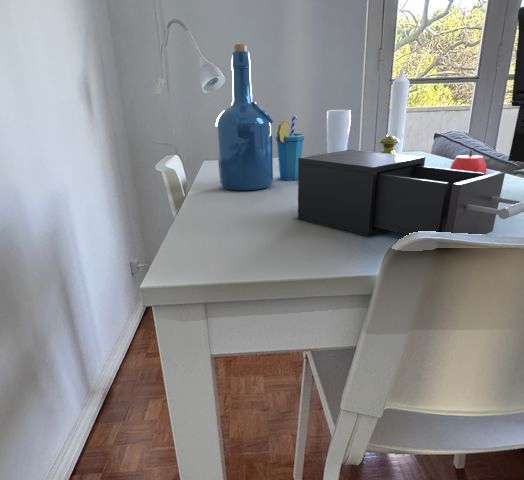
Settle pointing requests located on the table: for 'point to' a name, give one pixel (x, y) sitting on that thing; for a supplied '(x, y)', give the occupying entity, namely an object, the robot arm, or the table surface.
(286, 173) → the cup
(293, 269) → the table surface
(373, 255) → the table surface
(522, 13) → the robot arm
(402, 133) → the candle
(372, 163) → the cabinet
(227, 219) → the table surface
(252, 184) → the wine bottle
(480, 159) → the apple
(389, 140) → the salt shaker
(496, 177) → the drawer
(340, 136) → the drinking glass
